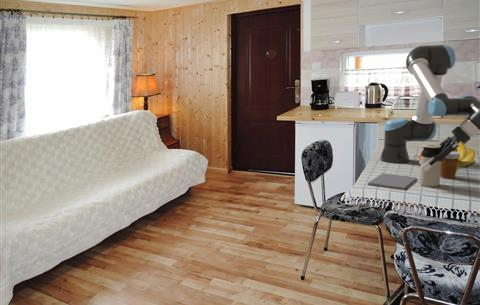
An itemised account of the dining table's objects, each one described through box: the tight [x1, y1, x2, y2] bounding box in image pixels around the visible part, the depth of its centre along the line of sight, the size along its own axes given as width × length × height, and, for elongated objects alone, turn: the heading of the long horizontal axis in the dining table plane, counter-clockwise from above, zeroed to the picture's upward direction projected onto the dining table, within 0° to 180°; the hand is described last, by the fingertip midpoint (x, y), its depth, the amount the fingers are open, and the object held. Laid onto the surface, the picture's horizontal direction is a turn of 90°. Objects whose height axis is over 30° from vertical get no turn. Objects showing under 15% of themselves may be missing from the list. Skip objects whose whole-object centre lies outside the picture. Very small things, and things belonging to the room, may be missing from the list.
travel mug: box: [419, 143, 441, 188], centre depth 186 cm, size 8×8×18 cm
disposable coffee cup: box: [440, 150, 461, 180], centre depth 198 cm, size 10×10×12 cm
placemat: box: [367, 172, 417, 191], centre depth 193 cm, size 20×16×1 cm
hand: (422, 166), depth 187 cm, fingers closed on travel mug, 8 cm apart
